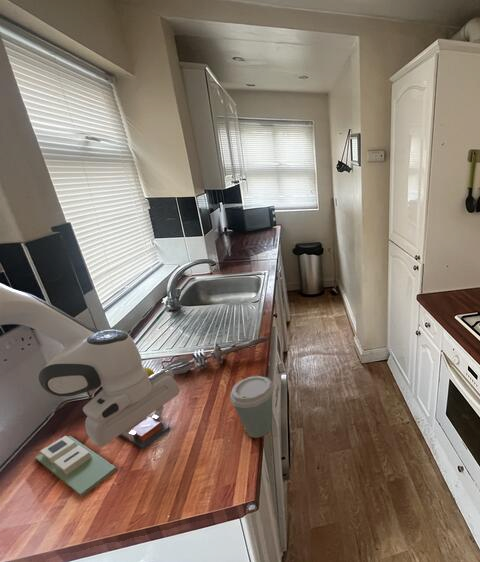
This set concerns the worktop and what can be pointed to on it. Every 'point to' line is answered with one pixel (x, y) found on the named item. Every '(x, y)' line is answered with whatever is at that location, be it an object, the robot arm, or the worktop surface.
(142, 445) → the strip
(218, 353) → the spaceship
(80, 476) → the green word strip
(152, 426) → the brown flat square block
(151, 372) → the lemon
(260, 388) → the disposable coffee cup
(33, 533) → the worktop surface
